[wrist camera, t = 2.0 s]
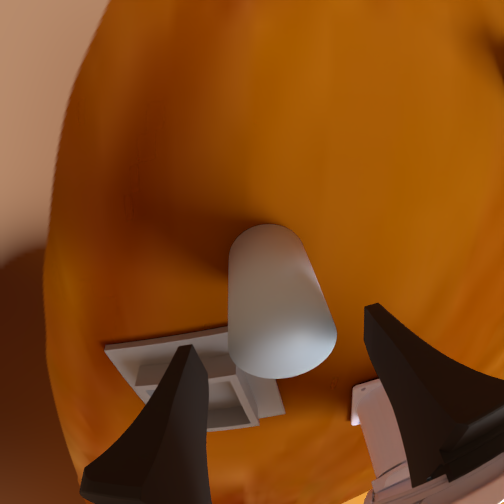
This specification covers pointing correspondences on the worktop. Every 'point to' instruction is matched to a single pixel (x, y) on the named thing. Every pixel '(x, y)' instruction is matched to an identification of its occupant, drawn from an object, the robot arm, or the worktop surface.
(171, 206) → the worktop surface
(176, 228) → the worktop surface
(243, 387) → the grey square tray
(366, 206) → the worktop surface
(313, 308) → the cylinder
